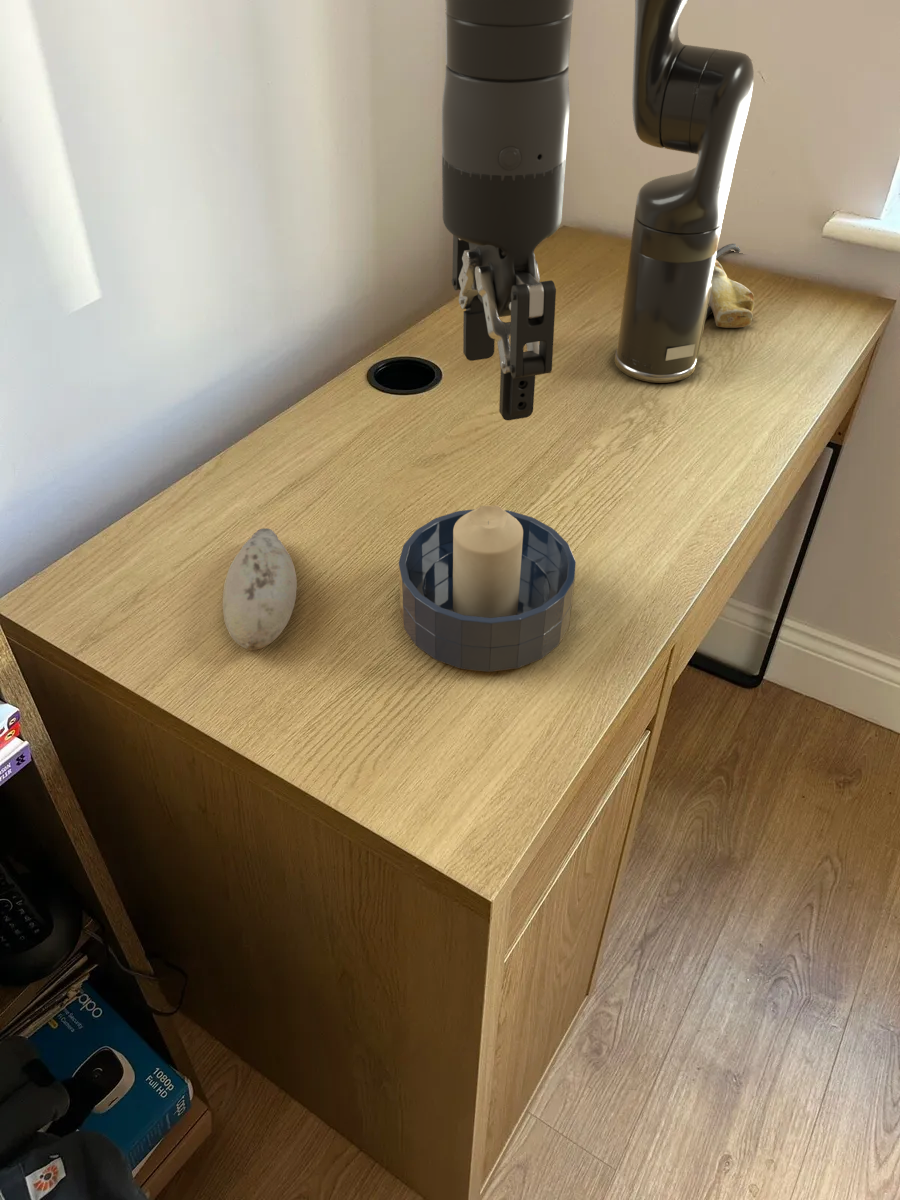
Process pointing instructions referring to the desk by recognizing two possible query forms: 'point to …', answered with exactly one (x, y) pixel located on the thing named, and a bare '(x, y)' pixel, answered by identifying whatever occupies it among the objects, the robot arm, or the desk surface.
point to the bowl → (482, 637)
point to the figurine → (730, 300)
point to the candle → (487, 563)
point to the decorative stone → (259, 591)
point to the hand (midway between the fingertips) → (496, 385)
